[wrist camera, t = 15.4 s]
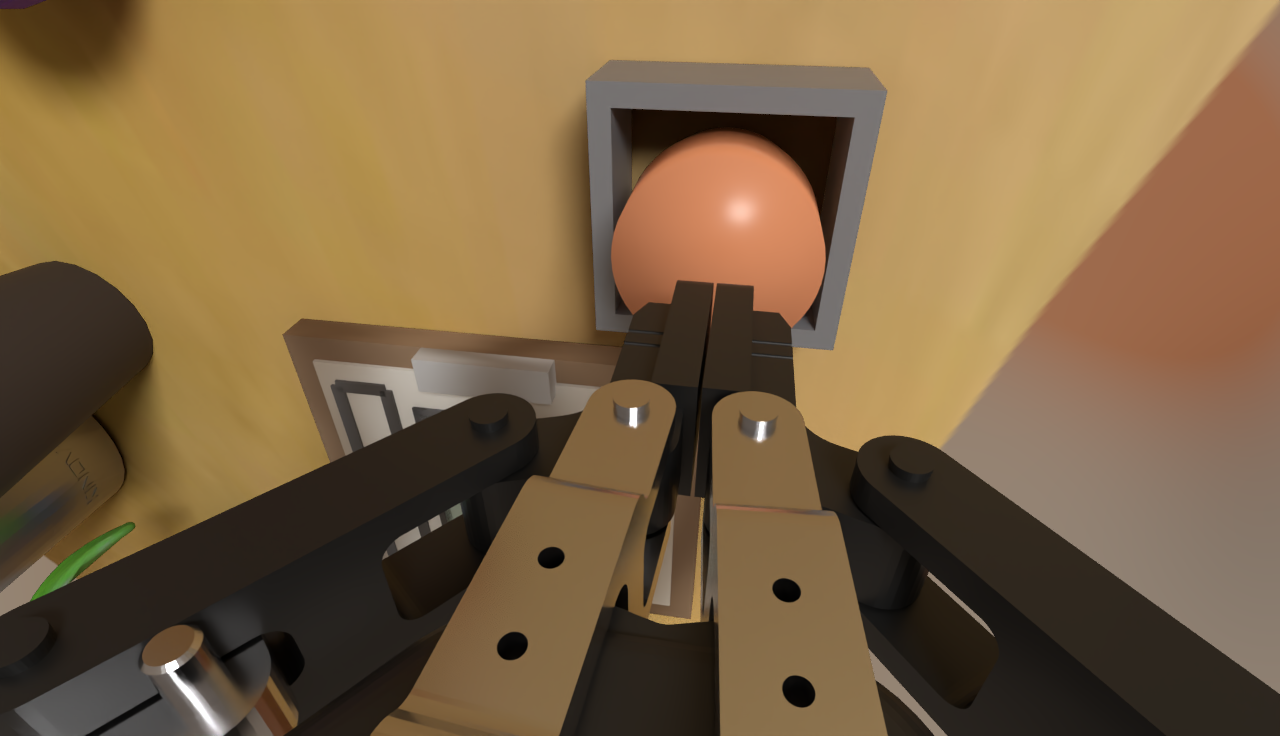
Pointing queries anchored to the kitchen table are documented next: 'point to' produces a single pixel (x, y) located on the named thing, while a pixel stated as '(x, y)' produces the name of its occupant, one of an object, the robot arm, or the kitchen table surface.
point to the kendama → (18, 3)
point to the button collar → (735, 91)
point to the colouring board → (447, 375)
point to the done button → (721, 224)
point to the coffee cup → (60, 358)
